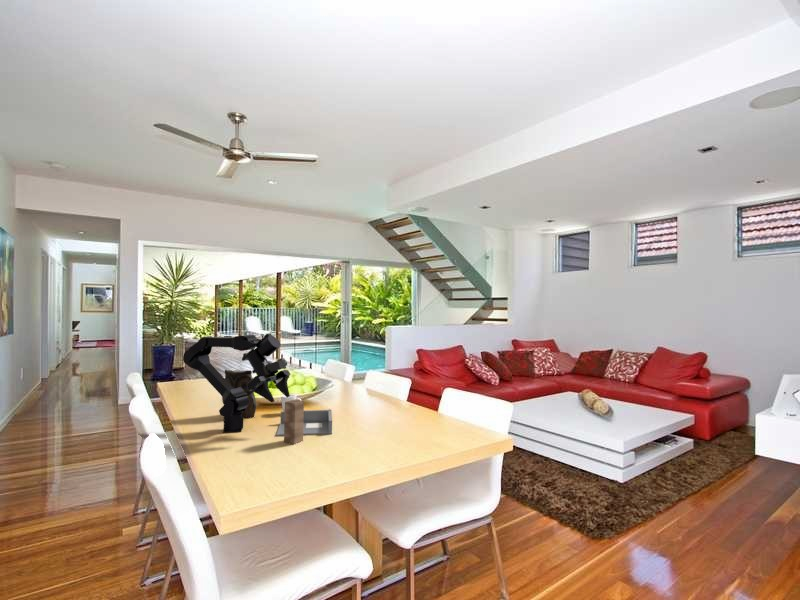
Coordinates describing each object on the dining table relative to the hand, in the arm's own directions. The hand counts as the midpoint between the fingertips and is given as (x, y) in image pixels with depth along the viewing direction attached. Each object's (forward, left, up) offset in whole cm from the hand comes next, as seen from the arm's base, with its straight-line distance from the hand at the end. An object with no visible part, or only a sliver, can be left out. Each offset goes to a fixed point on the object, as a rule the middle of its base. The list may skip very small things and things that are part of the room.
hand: (281, 399), depth 153 cm
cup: (+6, +32, -14) cm, 35 cm away
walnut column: (+4, -7, -14) cm, 16 cm away
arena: (+10, +8, -14) cm, 18 cm away
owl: (-14, +35, -14) cm, 40 cm away
